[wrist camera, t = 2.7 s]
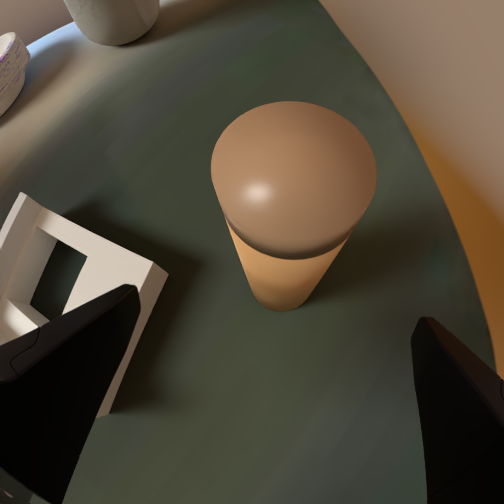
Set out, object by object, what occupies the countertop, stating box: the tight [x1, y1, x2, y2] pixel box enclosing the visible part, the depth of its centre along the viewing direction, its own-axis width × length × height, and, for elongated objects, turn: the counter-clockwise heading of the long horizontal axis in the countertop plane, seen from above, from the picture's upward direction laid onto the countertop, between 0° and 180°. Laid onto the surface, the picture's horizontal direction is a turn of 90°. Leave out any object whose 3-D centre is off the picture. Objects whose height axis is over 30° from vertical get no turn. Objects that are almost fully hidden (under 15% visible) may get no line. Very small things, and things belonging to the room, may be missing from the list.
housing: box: [0, 192, 169, 418], centre depth 18 cm, size 12×11×5 cm
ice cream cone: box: [211, 101, 377, 312], centre depth 14 cm, size 4×4×14 cm
